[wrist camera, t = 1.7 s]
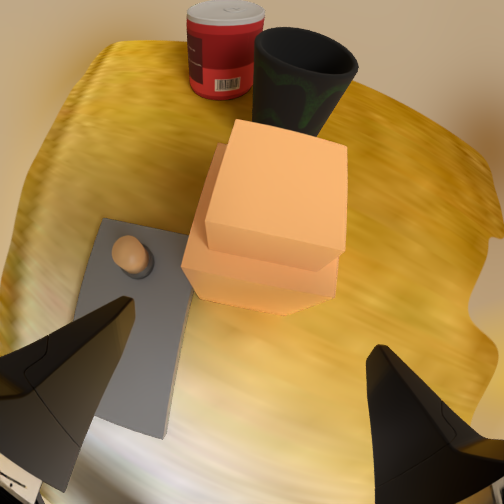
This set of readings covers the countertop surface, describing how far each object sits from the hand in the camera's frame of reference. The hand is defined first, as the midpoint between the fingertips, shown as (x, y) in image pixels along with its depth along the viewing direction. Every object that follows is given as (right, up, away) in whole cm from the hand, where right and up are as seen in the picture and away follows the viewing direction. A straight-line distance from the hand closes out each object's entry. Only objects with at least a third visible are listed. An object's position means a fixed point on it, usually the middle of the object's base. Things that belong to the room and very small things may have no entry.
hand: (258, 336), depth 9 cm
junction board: (-10, -3, +10) cm, 15 cm away
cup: (+2, +14, +17) cm, 22 cm away
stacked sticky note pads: (0, +2, +13) cm, 13 cm away
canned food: (-4, +24, +20) cm, 31 cm away
